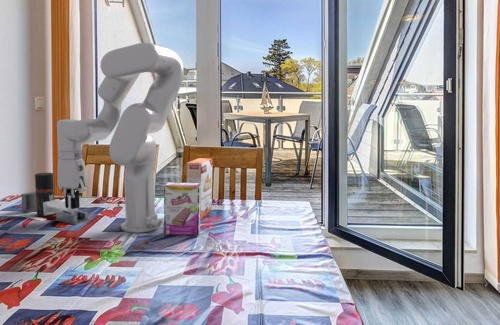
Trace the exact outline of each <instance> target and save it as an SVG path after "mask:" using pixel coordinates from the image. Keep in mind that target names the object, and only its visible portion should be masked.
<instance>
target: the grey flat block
mask: <svg viewBox="0 0 500 325" xmlns="http://www.w3.org/2000/svg"><path fill="white" fill-rule="evenodd" d="M20 195H21V196H20V197H21V211H22V213H23V214H30V213H34V212H37V204H36V190H35V191H29V192H25V193H21V194H20Z"/></svg>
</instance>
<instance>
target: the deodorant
mask: <svg viewBox="0 0 500 325" xmlns="http://www.w3.org/2000/svg"><path fill="white" fill-rule="evenodd" d="M34 174H35V175H34V181H35V182H34V185H35V191H36V204H37V211H36V217H50V216H53V215H55V214H56V213H54V214H50V215H44V209H43V202H46V201H50V200H55V187H54V186H55V184H54V173H53V172H38V173H34Z"/></svg>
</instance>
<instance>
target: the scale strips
mask: <svg viewBox="0 0 500 325" xmlns="http://www.w3.org/2000/svg"><path fill="white" fill-rule="evenodd" d="M31 220H34V221H40V222H44V221H47V220H48V219H47V218H44V217H40V216H35V217H33V218H31Z"/></svg>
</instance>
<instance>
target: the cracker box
mask: <svg viewBox="0 0 500 325" xmlns="http://www.w3.org/2000/svg"><path fill="white" fill-rule="evenodd" d="M213 161H214V160H213V158H206V157H203V158H201V157H199V158H198V157H197V158H196V159H192V160H191V161H187V162H186V183H200V184H201V197H200V221H201V220H203V219H204V218H205V217H207V215H208V214H210V213H211V212H210V211H212V203H213V202H212V194H213V163H214V162H213ZM204 216H205V217H204ZM203 217H204V218H203Z"/></svg>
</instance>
